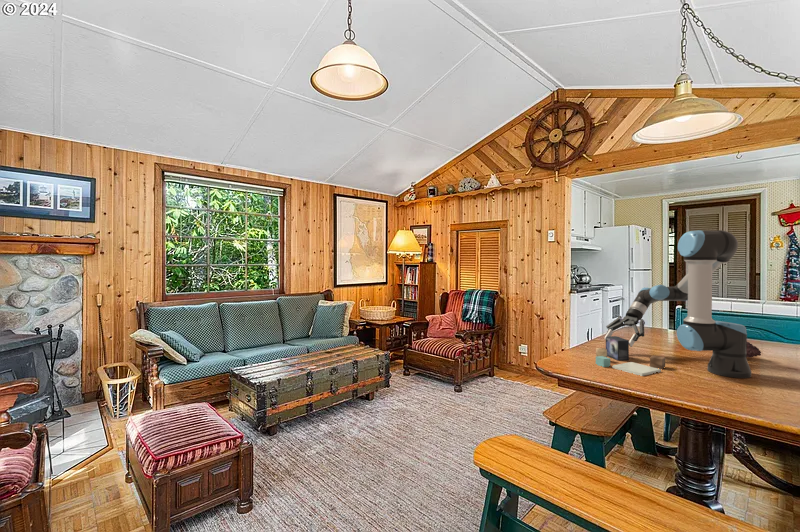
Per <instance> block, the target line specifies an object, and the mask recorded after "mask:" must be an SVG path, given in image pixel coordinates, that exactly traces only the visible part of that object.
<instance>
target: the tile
mask: <svg viewBox="0 0 800 532" xmlns="http://www.w3.org/2000/svg"><path fill="white" fill-rule="evenodd" d="M611 367H612V369H615V370H618V371H621V370H622V371H621V372H626V373H629V374H632V373H633V375H635V376H639V375H640V376H639V377H644V376H649V375H654V374H657V373H656V372H658V373H661V372H662V370H661V369H658V368H654V367H650V365H646V364H640V363H638V362H633V361H630V362H629V361H628V362H622V363H619V364H614V365H612V366H611ZM653 373H654V374H653Z"/></svg>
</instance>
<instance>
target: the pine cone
mask: <svg viewBox="0 0 800 532" xmlns="http://www.w3.org/2000/svg"><path fill="white" fill-rule="evenodd" d="M758 356H759V357H760V356H762V351H761V350H760V349H759V348H758V347H757V346H755V345H753V344H752V343H751V342H749V341H747V346H746V358H755V357H758Z"/></svg>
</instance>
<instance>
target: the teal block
mask: <svg viewBox="0 0 800 532" xmlns="http://www.w3.org/2000/svg"><path fill="white" fill-rule="evenodd" d="M596 364H597V365H596ZM595 365H596V366H598V367H601V366H602V367H601V368H608V367H609V366H610V367H611V357H608V356H607V357H604V356H597V357H596V356H595Z"/></svg>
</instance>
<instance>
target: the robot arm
mask: <svg viewBox="0 0 800 532" xmlns="http://www.w3.org/2000/svg"><path fill="white" fill-rule="evenodd" d="M738 249H739V241H738V239H737V237H736V236H735V235H734V234H733V233H731V232H729V231H726V230H722V229H721V230H701V229H699V230H691V231H690V230H689V231H687V232H685V233H683V234H682V236H680V238H679V240H678V243H677V251H678V252H679V254H680V256H681V257H683V261H684V262H686V264H687V265H688V266H687V269H688V270H687V274H685V275H684V277H682V278H681V280H680V281H679V282H678V283H677V284H676V285H675V286H667V285H664V284H656V285H653V286H652V287H641V288H640V290H639V291H638V293H637V294H636V297H635V298H634V300H633V301H632V303H631V304H630V306H629V308H628V309H627V311H626V313H625V316H624V317H623V316H621V315H618V317H617V318H616V319H614V320H613V321H612V322H610V323H609V324H607V325H606V326H605V327H606V329H607V331H606V333H605V336H604V340H605V341H606V337H610V336H612V335H613V334H614V331H615V330H619V328H622V327H631V328H632V327H633V330H634V333H633V334H632V336H631V338H630V339H629V347H633V345H634V344H635V342H637V341H638V340H639V339H640V338H641V337H645V325H646V322H645V320H644V319H643V317H644V315H645V314H646V312H647V310H648V308H649V307H650V305H651V304H653V303H657V302H671V301H672V302H674V301H675V302H686V301H687V316H686V317H685V318H683V320H682V321H683V324H680V325H679V326H678V328H676V337H677V340H678V342H679V343H680V345H681V346H682V347H683V348H684V349H686V350H688V351H694V352H695V351H696V352H703V351H704V352H705V351H709V352H711V351H712V354H711V357H710V359H709V362H708V363H707V367H706V368H707V369H706V370H707V372H709V373H712V374H715V375H718V376H722V377H728V378H734V379H735V378H737V379H749V378H751V377H752V370H751V366H750V364H749V362H748V359H747V357H746V346H747V342H748V339H747V338H748V333H747V328H746V326H745V325H743V324H740V323H735V322H728V321H723V320H722V321H720V320H714V319H713V318H712V315H713V313H712V311H713V273H715V271H716V270H717V269H718V268H719V267H721V265H722V264H725V263H728V262H729V261H730V260H732V258H733V257H734V256H735V255H736V254H737V251H738ZM638 324H639V329H638V326H637V325H638Z"/></svg>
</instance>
